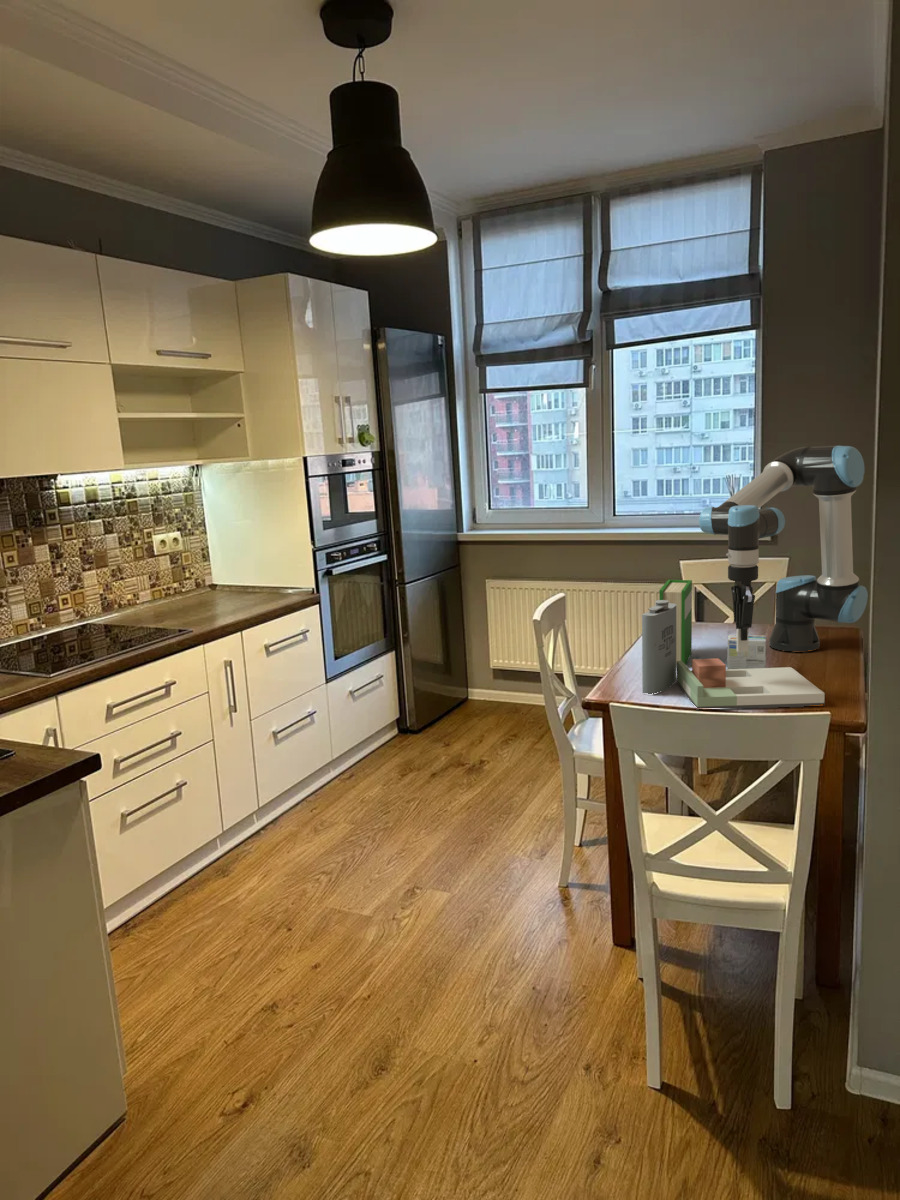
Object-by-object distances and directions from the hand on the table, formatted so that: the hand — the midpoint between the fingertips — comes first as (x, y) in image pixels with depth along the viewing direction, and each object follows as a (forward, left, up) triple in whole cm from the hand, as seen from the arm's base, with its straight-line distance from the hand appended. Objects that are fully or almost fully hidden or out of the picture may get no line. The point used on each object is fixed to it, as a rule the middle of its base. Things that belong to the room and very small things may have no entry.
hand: (742, 650), depth 220 cm
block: (+9, +1, -9) cm, 13 cm away
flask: (+20, -9, -12) cm, 25 cm away
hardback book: (+10, -36, -12) cm, 39 cm away
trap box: (-1, 0, -12) cm, 12 cm away
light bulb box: (-7, -20, -12) cm, 24 cm away
